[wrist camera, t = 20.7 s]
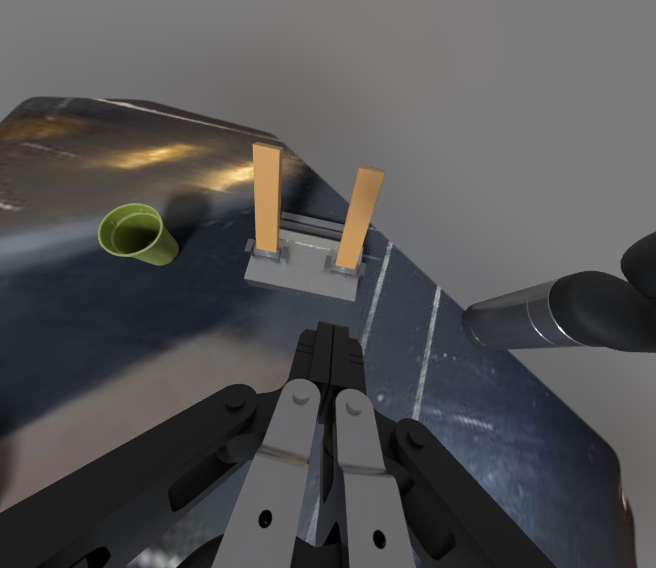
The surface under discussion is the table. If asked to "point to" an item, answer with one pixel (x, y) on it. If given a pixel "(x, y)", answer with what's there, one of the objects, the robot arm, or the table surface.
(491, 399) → the table surface
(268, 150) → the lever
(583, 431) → the table surface
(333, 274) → the breaker box
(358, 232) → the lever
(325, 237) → the stepped grey slab
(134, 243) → the plant pot
